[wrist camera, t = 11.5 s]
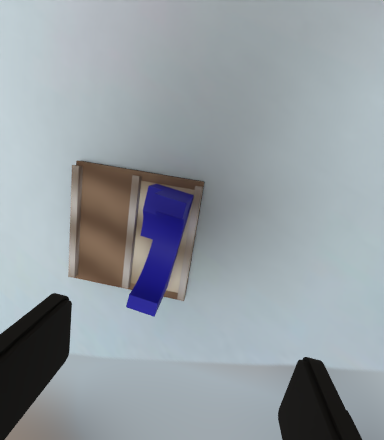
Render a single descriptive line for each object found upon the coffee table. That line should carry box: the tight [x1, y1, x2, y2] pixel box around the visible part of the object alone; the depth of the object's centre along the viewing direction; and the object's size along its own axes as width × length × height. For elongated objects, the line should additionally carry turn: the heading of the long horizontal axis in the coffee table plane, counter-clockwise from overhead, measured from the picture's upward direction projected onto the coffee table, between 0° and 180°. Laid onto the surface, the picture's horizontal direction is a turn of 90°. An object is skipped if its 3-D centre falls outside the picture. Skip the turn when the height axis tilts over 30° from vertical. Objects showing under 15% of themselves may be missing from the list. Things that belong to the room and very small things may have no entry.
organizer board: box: [68, 161, 204, 301], centre depth 29 cm, size 15×15×2 cm
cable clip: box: [126, 184, 194, 316], centre depth 25 cm, size 12×4×6 cm, turn 164°
